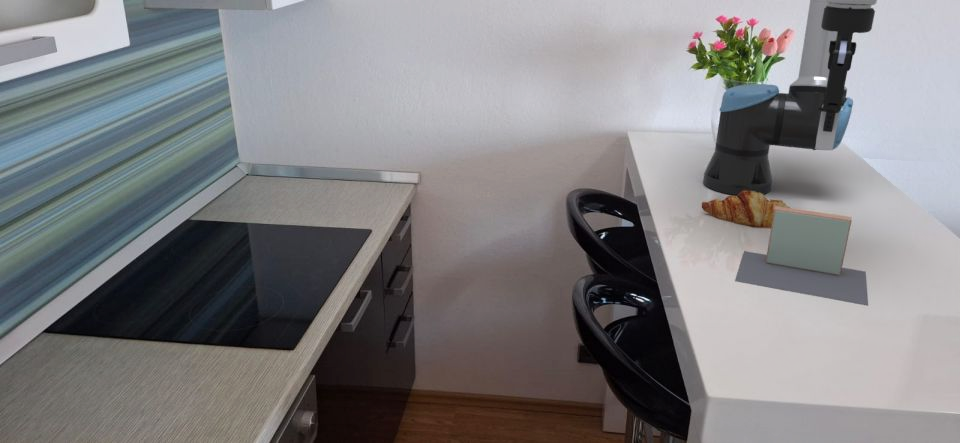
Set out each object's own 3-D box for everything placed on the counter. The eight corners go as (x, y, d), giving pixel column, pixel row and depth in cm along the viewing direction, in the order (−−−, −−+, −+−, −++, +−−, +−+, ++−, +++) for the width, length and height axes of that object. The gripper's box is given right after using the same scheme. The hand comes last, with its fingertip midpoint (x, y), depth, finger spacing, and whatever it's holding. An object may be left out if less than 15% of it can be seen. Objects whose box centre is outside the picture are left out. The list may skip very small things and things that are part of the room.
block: (766, 258, 133) (775, 206, 129) (840, 271, 128) (851, 217, 125) (765, 263, 131) (774, 209, 127) (840, 276, 126) (851, 220, 123)
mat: (743, 255, 136) (744, 251, 136) (864, 275, 129) (865, 271, 128) (734, 285, 124) (734, 280, 124) (867, 310, 117) (868, 305, 116)
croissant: (805, 241, 152) (811, 203, 153) (813, 235, 143) (819, 194, 143) (698, 225, 159) (704, 188, 159) (698, 218, 149) (705, 179, 150)
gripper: (878, 11, 112) (848, 161, 121) (873, 3, 127) (847, 137, 135) (823, 8, 115) (798, 155, 123) (825, 1, 130) (802, 132, 138)
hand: (824, 145), depth 129 cm, fingers open, 4 cm apart
